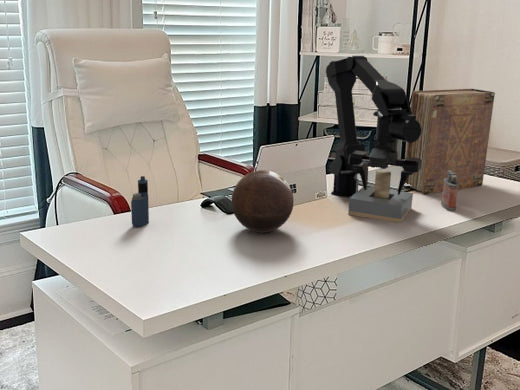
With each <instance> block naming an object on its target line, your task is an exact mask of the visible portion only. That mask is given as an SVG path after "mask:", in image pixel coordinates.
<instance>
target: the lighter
mask: <svg viewBox="0 0 520 390" xmlns="http://www.w3.org/2000/svg"><path fill="white" fill-rule="evenodd" d="M447 175H448V176H449V177H448V178H444V188H443V192H442V196H441V199H440V205H441V207H442V208H443V209H445V211H448V212H456V211H457V200H458V192H459V189H458V188H459V183H458V182H457V181H456V179H457V176H456V173H453V172H452V171H447Z"/></svg>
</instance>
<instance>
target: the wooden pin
mask: <svg viewBox="0 0 520 390" xmlns="http://www.w3.org/2000/svg"><path fill="white" fill-rule="evenodd" d="M391 177H392V172H391V171H389V170H384V169H382V170H376V172H375V179H374V188H375V191H374V198H381V199H387V200H389V191H390V190H391Z"/></svg>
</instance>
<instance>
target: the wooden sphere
mask: <svg viewBox="0 0 520 390" xmlns="http://www.w3.org/2000/svg"><path fill="white" fill-rule="evenodd" d="M294 202H295V201H294V193H293V191H292V188H291V186H290V184H289V183H288V182H287V180H286V179H285V178H284V177H282V176H281V175H280V174H278V173H276V172H273V171H270V170H265V169H264V170H263V169H261V170H260V169H259V170H254V171H251V172H249V173H247V174H245V175H244V176H243V177H241V178H240V179H239V180H238V182H237V183H236V184H235V187H234V188H233V191H232V195H231V209H232V212H233V214H234V216H235V219H236V220H237V221H238V222H239V223H240V224H241V226H243V227H245V228H246V229H248V230H250V231H252V232H255V233H268V232H273V231H275V230H278V229H279V228H281V227H282V226H283V225H284V224H286V222H287V221H288V219H289V218H290V217H291V215H292V212H293V209H294Z"/></svg>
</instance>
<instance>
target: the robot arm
mask: <svg viewBox="0 0 520 390" xmlns="http://www.w3.org/2000/svg"><path fill="white" fill-rule="evenodd" d="M325 68H326V69H325V75H326V78H327V83H328V86H329V87H330V88H331V90H333V92H334V95H335V96H334V97H335V104H336V116H337V117H336V118H337V124H338V125H337V126H338V133H339V134H338V135H339V143H338V145H337V147H336V149H335V158H334V159H333V160H332V161H331V162H330V164H329V173H330V174H332V175H333V189H332V191H331V192H330V194H331V195H336V196H344V197H349V198H350V197H352V196H353V195H354V194H355V193H356V192H357V191H359V180H360V179H361V183H362V187H364V190H366V189H367V187H368V183H369V167H370V168H379V169H382V170H385V169H387V168H388V167H389V166H392V167H393V166H395V167H401V168H402V170H401V172H400V180H399V182H398V183H399V184H398V187H397V188H398V189H397V191H398V195H400V193H401V191H402V192H403V188H405V187H404V184H405V182H406V180H407V178H408V177H409V175H413V174H414V172H418V171H419V170H420V169H421V167H422V160H421V159H420V158H414V157H407V158H406V157H405V158H404V159H401V158H399V154H398V142H399V140H400V141H402V142H406V143H407V142H409V143H413V142H415V141H416V140H418V138H419V137H420V135H421V131H422V129H421V126H420V124H419V122H418V121H416V115H412V112H411V104H409V100H408V97H407V95H406V91H405V90H404V88H403V87H402V86H400V85H399V84H397V83H393V82H391V81H388V80H386V78H384V76H382V75H381V73H380V72H379V71H378V70H377V69H376V68H375V67H374V66H373V65H372V64H371V63H370V62H369V61H368V58H367V56H364V55H350V56H347V57H346V58H343V59H339V60H331V61H330V62H329V63H328V65H327V66H326V67H325ZM357 78H358V80H360V81H361V83H362V84H363V85H364V86H365V87H366V88H367V89H368V90H369V92H370V94H371V101H372V102H373V103H374V106H375V107H376V108H377V110H375V111H374V112H373V113H372V114H373V116H374V117H377V120H376V121H377V122H376V133H375V140H374V145H373V148H372V149H371V150H370V153H369V152H368V151H366V146H365V144H364V143H361V142H360V141H359V139H358V137H357V135H358V134H357V127H356V126H357V125H356V117H355V109H354V107H355V106H354V101H353V100H354V99H353V98H354V96H353V89H354V87H355V84H356V81H357ZM358 175H360V176H359V177H360V179H359V178H358Z"/></svg>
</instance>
